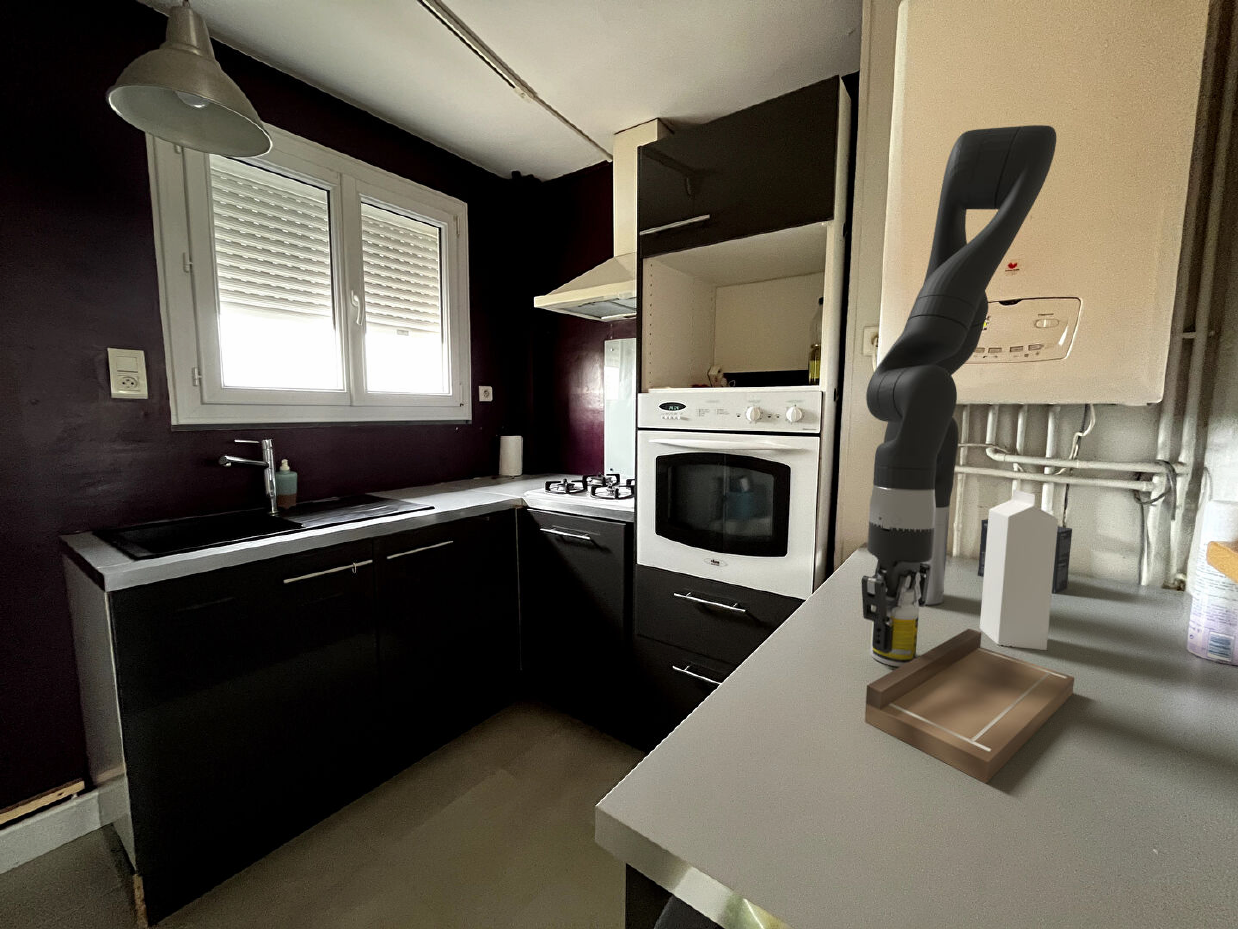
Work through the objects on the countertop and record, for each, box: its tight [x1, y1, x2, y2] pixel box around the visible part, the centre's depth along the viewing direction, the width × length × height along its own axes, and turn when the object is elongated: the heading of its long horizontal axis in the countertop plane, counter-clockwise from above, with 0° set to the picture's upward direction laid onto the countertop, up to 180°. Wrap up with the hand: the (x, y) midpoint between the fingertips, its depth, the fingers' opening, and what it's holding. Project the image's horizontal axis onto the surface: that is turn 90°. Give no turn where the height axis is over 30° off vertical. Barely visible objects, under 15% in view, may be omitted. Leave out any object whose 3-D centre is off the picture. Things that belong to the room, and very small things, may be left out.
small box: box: [977, 518, 1073, 594], centre depth 100 cm, size 13×7×12 cm, turn 32°
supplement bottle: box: [869, 589, 919, 668], centre depth 67 cm, size 5×5×10 cm
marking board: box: [864, 628, 1075, 784], centre depth 56 cm, size 11×26×4 cm, turn 125°
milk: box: [979, 489, 1059, 651], centre depth 73 cm, size 6×6×22 cm
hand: (893, 644), depth 67 cm, fingers closed on supplement bottle, 5 cm apart
